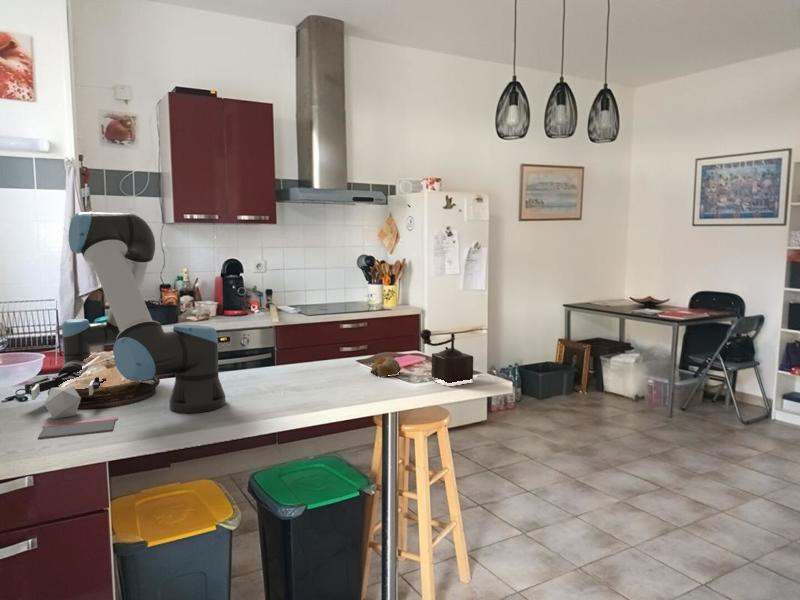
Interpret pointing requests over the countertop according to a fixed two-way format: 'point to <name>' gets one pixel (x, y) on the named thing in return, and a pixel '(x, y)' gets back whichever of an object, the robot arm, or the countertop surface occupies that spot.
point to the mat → (76, 429)
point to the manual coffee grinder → (449, 361)
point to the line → (80, 422)
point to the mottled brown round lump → (385, 367)
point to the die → (62, 402)
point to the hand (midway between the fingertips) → (62, 392)
